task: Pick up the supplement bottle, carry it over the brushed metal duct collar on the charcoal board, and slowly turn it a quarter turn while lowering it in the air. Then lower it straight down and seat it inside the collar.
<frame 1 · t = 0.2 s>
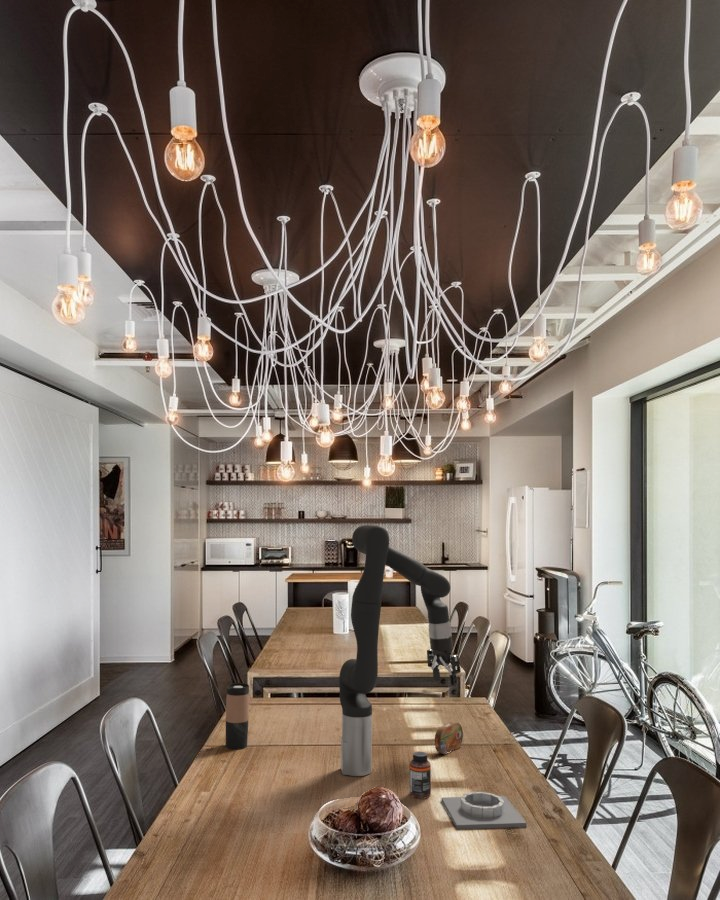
hand: (445, 682, 245), 22 cm above the table, tool pointing down, fingers open, 8 cm apart
tin: (448, 751, 244), on the table
duct base board: (482, 813, 193), on the table
duct collar: (482, 804, 193), on the duct base board, point 2 cm above the table
supplement bottle: (420, 795, 205), on the table
travel mug: (236, 746, 246), on the table
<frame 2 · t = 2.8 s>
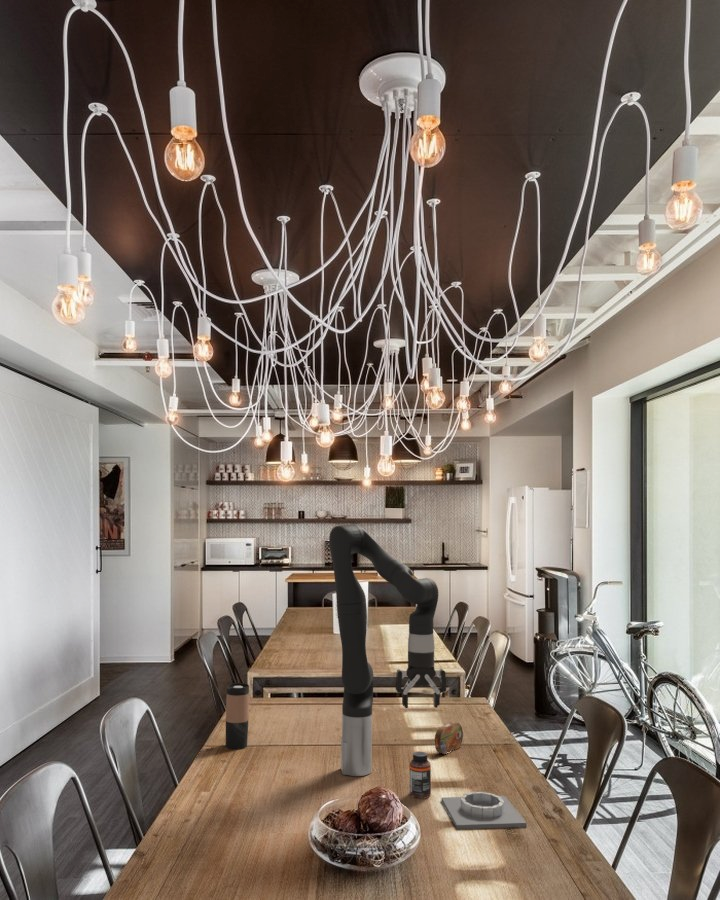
hand: (420, 707, 207), 24 cm above the table, tool pointing down, fingers open, 8 cm apart
nothing on the table moved.
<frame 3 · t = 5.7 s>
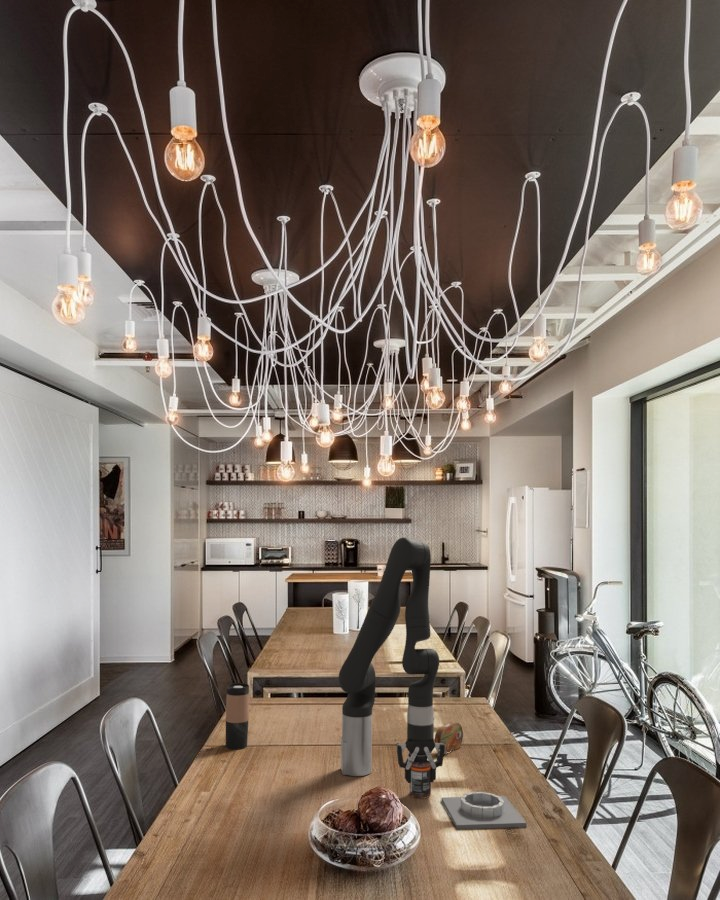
hand: (420, 781, 205), 4 cm above the table, tool pointing down, fingers closed on supplement bottle, 6 cm apart
supplement bottle: (420, 795, 205), on the table, touching gripper
everything else where it was.
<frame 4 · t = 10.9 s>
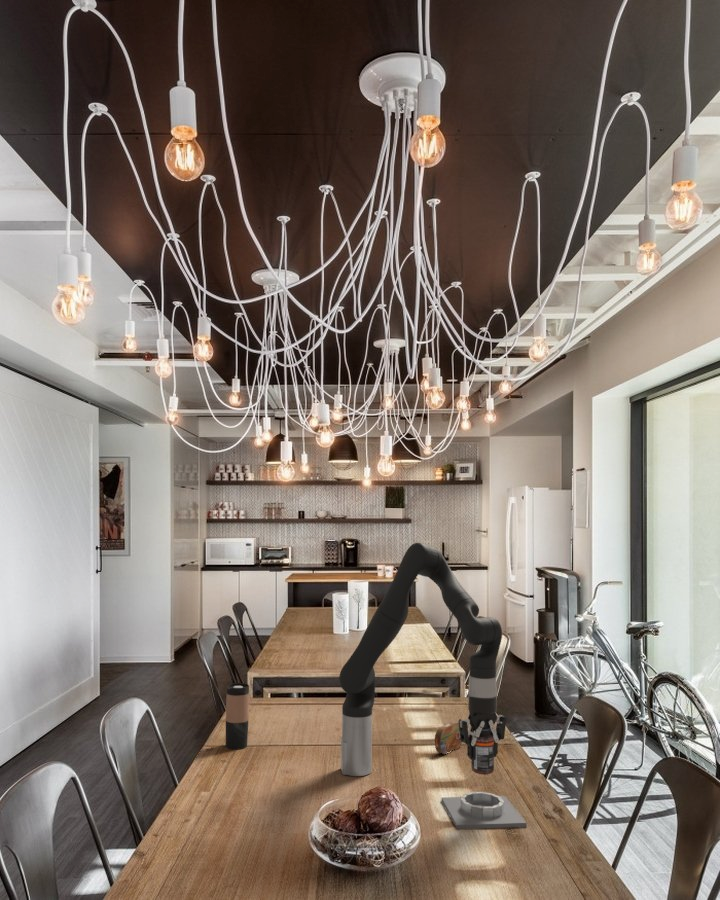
hand: (482, 757, 194), 14 cm above the table, tool pointing down, fingers closed on supplement bottle, 6 cm apart
supplement bottle: (482, 772, 194), point 10 cm above the table, touching gripper
everything else where it was.
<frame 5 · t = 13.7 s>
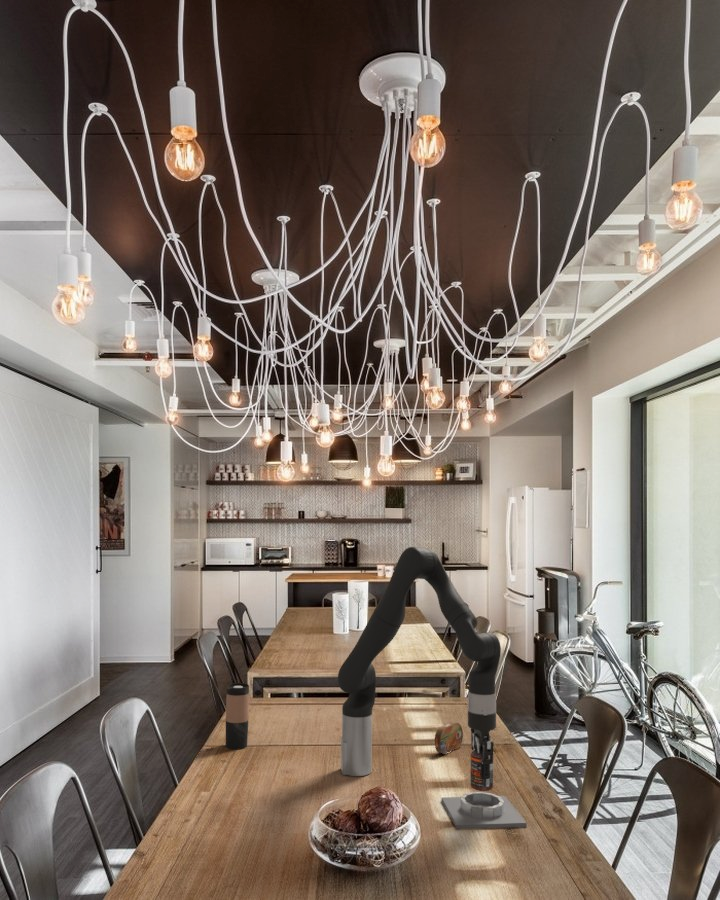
hand: (481, 773, 194), 10 cm above the table, tool pointing down, fingers closed on supplement bottle, 6 cm apart
supplement bottle: (481, 788, 193), point 6 cm above the table, touching gripper
everything else where it was.
when the fingers open (5 cm above the table, at t = 16.4 s): supplement bottle stays where it is, resting on duct base board.
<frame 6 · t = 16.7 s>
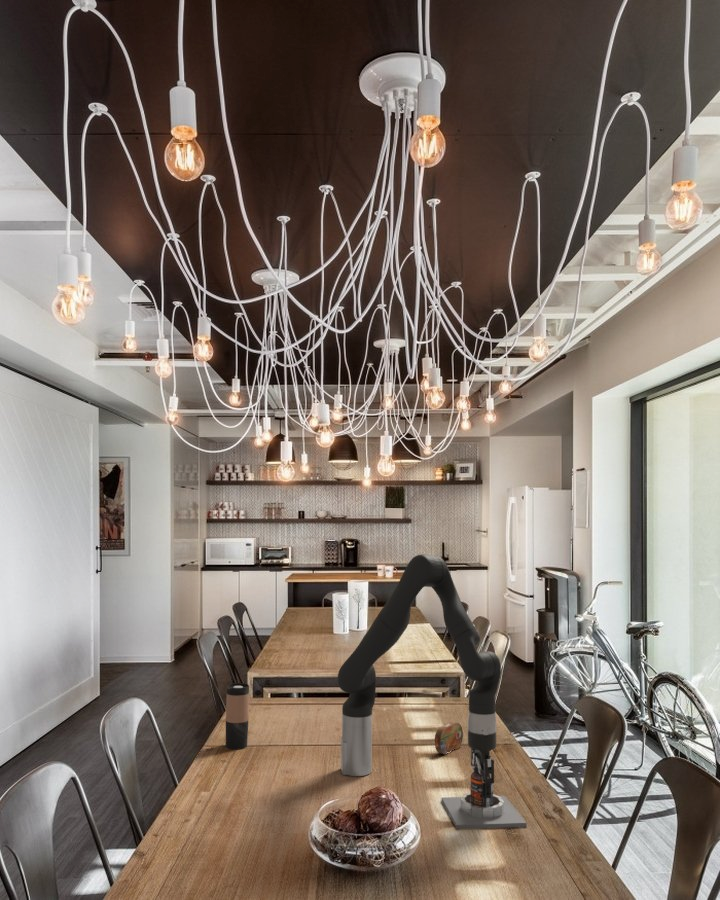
hand: (482, 791, 193), 6 cm above the table, tool pointing down, fingers open, 8 cm apart
supplement bottle: (481, 810, 193), point 1 cm above the table, touching duct base board
everything else where it was.
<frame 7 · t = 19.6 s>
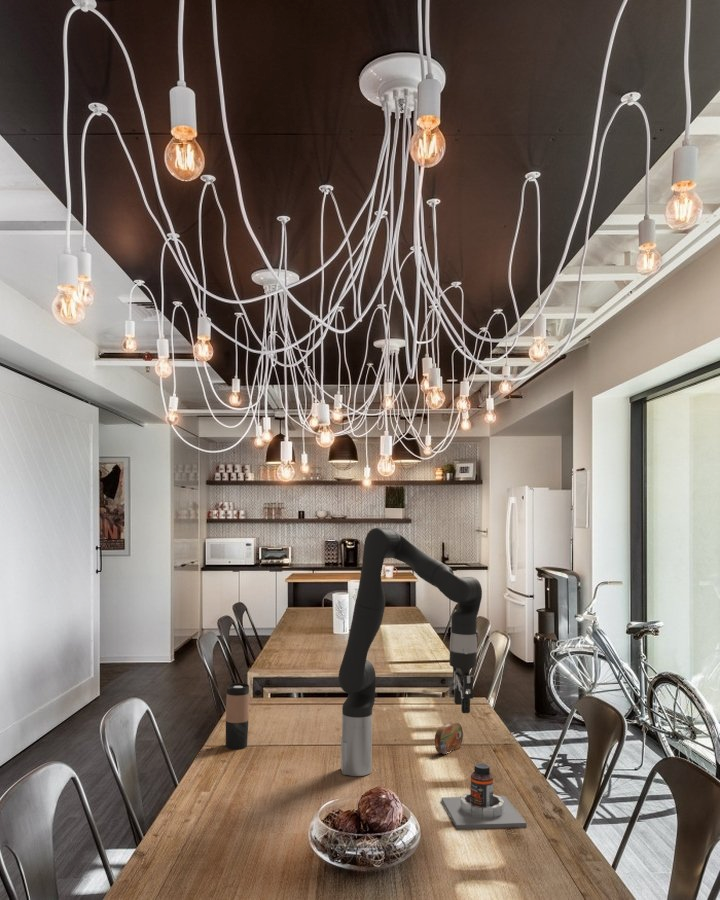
hand: (461, 708, 202), 25 cm above the table, tool pointing down, fingers open, 8 cm apart
nothing on the table moved.
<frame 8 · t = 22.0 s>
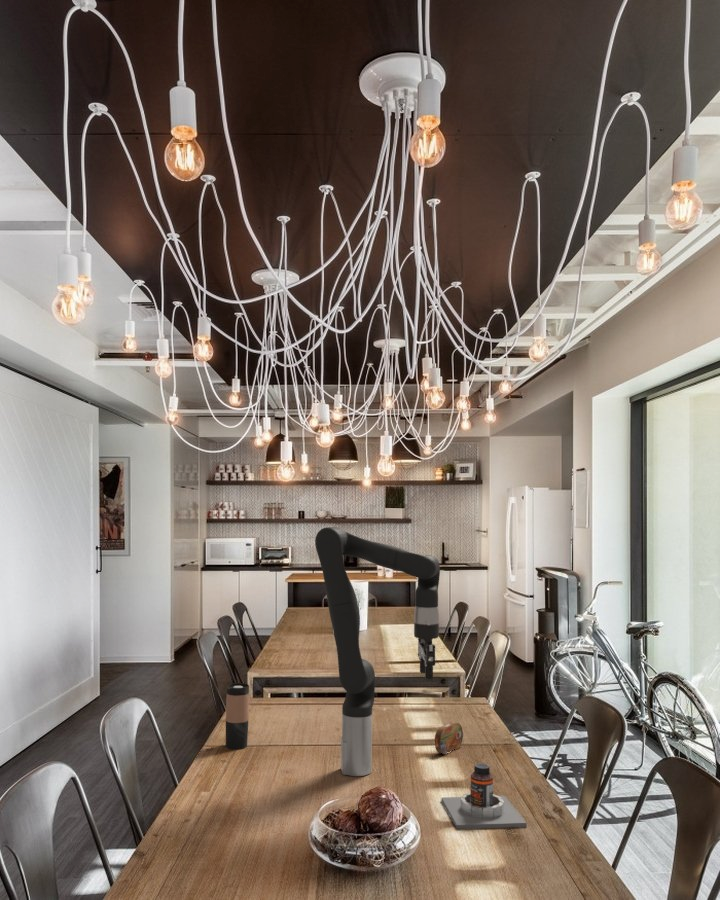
hand: (426, 676, 220), 30 cm above the table, tool pointing down, fingers open, 8 cm apart
nothing on the table moved.
at the end: supplement bottle 0.1 cm off-centre on the duct collar, point 0.8 cm above the duct collar's base; supplement bottle tilted 0°; the gripper is holding nothing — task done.
